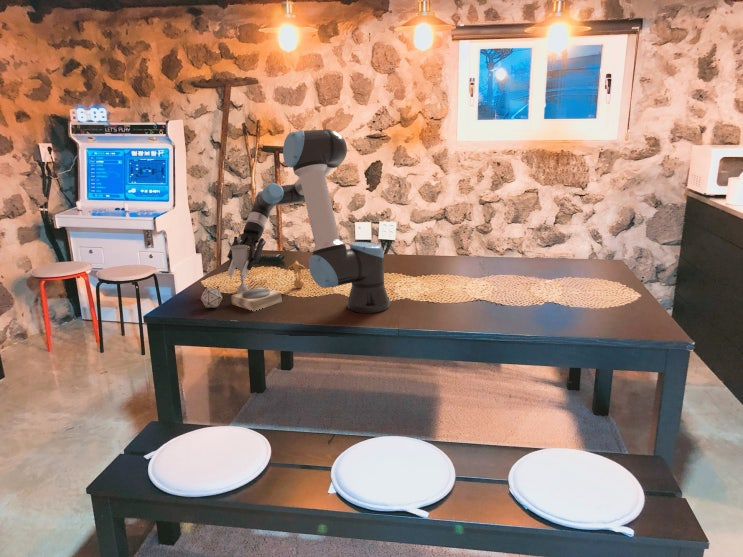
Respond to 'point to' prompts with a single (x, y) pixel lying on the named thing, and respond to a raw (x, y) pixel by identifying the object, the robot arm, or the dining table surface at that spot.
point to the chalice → (240, 263)
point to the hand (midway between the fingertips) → (236, 275)
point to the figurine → (298, 282)
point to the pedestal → (256, 298)
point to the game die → (211, 297)
